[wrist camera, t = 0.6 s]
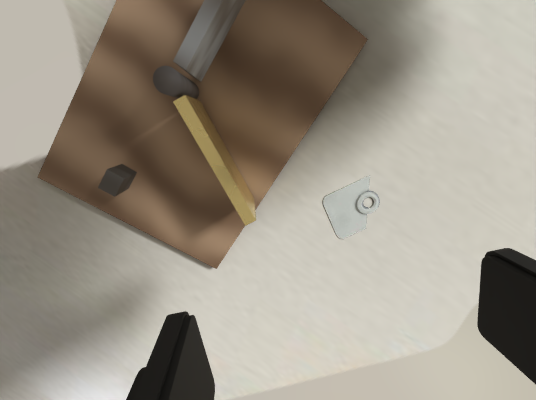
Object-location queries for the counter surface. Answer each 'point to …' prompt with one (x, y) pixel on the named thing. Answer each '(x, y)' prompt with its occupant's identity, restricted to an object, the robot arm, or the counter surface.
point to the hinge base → (213, 100)
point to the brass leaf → (217, 156)
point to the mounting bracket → (350, 207)
